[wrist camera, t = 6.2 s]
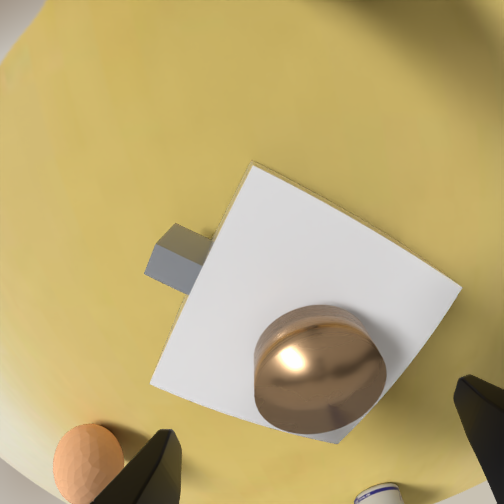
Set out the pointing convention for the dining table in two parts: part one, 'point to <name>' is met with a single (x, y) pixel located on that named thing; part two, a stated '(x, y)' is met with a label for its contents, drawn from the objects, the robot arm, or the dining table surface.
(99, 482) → the egg
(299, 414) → the plunger
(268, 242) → the white box with hole
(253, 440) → the dining table surface
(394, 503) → the energy drink
